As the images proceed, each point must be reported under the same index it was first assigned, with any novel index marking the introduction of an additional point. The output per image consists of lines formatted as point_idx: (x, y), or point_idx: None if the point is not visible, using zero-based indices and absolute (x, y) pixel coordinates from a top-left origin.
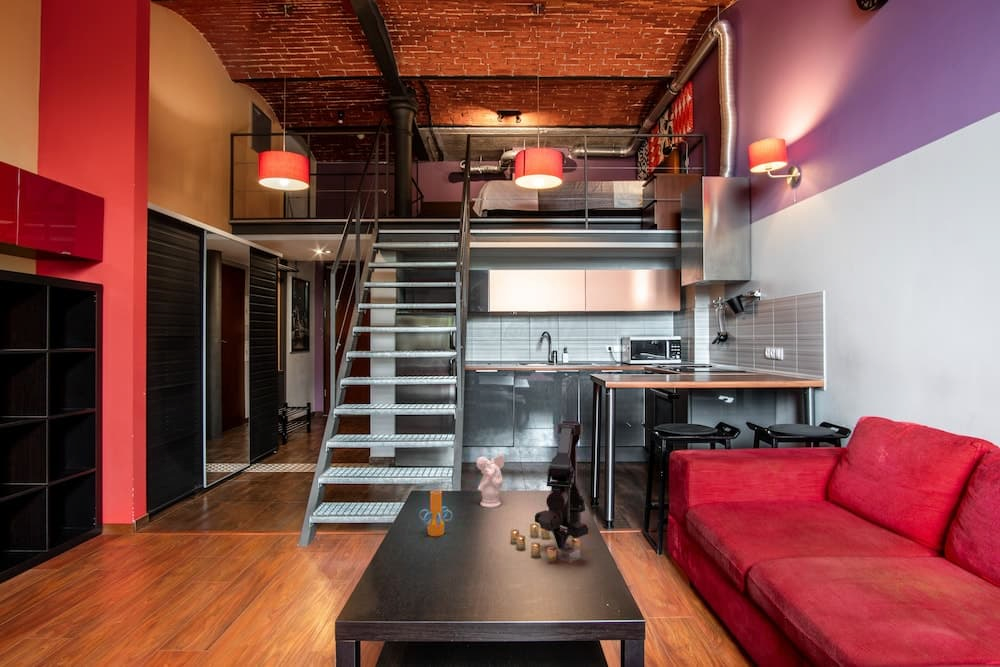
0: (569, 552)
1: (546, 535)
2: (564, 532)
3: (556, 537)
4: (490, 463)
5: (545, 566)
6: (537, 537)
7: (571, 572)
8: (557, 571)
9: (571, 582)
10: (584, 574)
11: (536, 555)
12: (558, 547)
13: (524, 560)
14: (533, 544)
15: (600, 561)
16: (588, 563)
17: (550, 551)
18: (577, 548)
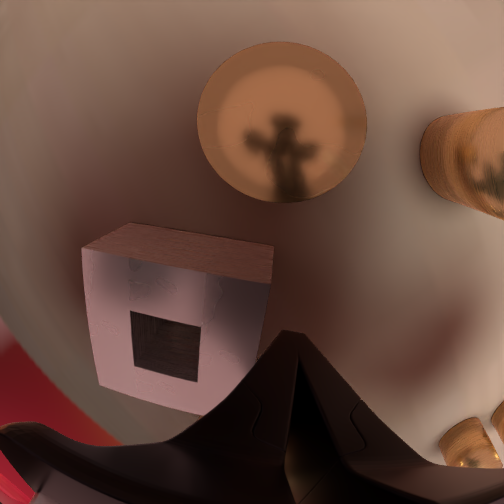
0: (101, 266)
1: (461, 443)
2: (46, 491)
3: (339, 421)
4: None
5: (274, 23)
6: (496, 410)
7: (56, 93)
8: (139, 24)
9: (27, 11)
10: (3, 139)
11: (446, 119)
12: (305, 343)
13: (473, 50)
14: None
15: (45, 350)
16: (56, 295)
17: (256, 49)
18: (116, 384)
